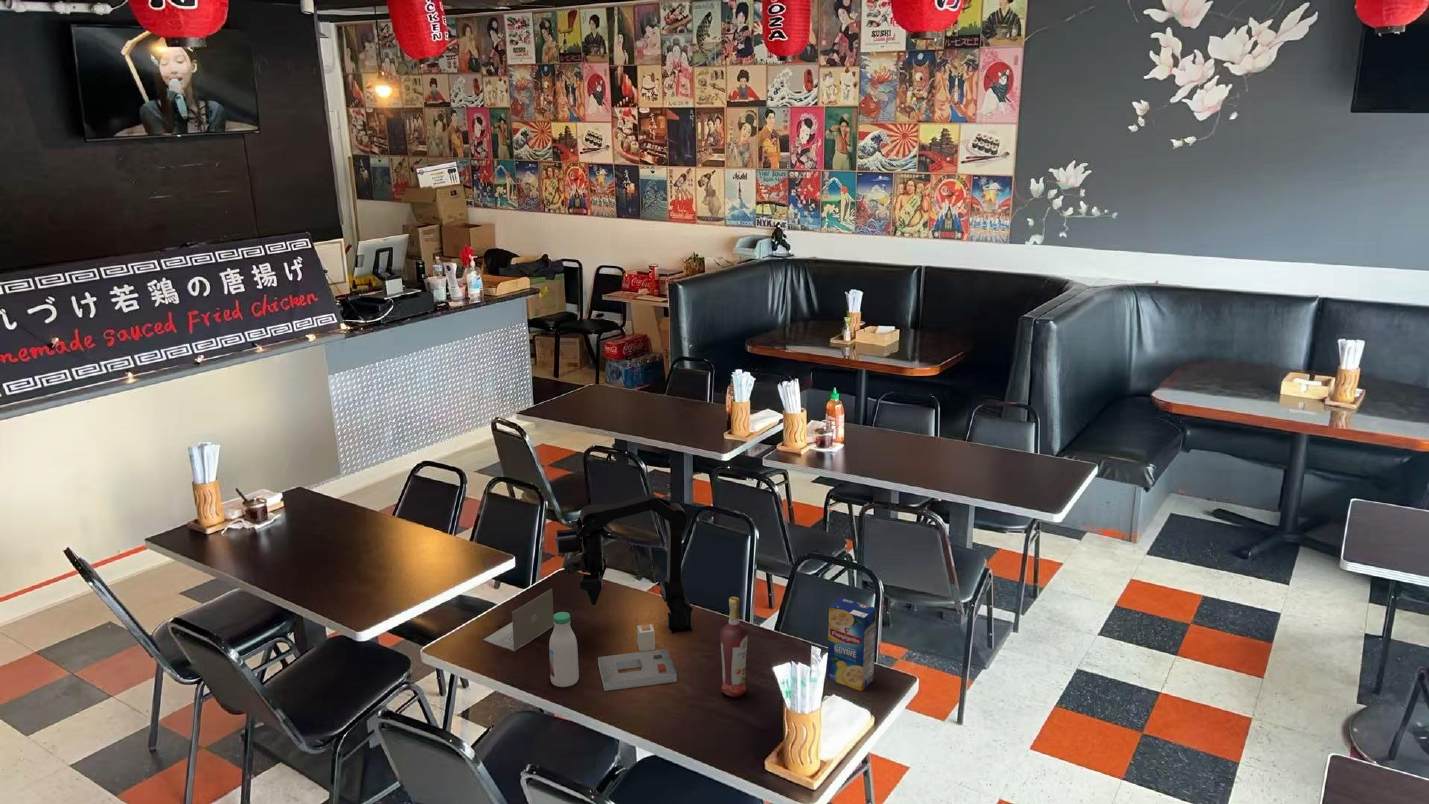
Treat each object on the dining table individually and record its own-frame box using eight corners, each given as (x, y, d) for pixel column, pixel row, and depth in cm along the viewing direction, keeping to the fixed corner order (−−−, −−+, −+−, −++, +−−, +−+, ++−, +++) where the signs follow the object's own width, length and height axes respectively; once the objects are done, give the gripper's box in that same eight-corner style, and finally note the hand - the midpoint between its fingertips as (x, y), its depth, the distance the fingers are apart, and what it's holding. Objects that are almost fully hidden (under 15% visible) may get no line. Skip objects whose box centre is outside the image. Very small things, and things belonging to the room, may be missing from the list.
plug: (652, 642, 301) (651, 622, 299) (654, 649, 297) (654, 629, 295) (637, 644, 300) (637, 624, 298) (640, 651, 296) (639, 631, 294)
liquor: (738, 703, 270) (738, 607, 262) (715, 695, 273) (714, 600, 266) (752, 690, 276) (753, 596, 268) (729, 682, 279) (729, 590, 272)
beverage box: (862, 691, 275) (865, 618, 269) (826, 678, 281) (828, 606, 275) (873, 680, 280) (876, 608, 274) (838, 668, 287) (841, 597, 281)
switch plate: (667, 656, 293) (667, 646, 292) (676, 681, 280) (676, 671, 279) (598, 665, 289) (597, 654, 288) (604, 691, 275) (604, 680, 275)
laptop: (523, 617, 317) (521, 579, 314) (554, 627, 311) (552, 588, 307) (483, 641, 302) (480, 602, 299) (515, 652, 296) (512, 612, 292)
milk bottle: (583, 675, 283) (580, 611, 278) (571, 690, 276) (567, 623, 271) (558, 671, 286) (555, 606, 280) (545, 685, 278) (542, 619, 273)
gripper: (568, 536, 303) (572, 583, 308) (560, 563, 286) (563, 613, 290) (606, 535, 304) (608, 583, 308) (600, 562, 286) (602, 612, 290)
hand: (595, 597), depth 299 cm, fingers open, 9 cm apart
